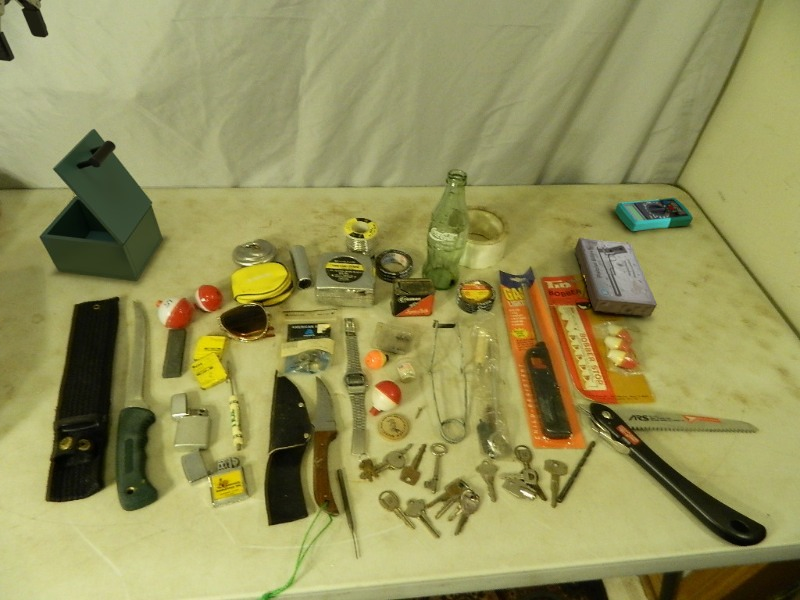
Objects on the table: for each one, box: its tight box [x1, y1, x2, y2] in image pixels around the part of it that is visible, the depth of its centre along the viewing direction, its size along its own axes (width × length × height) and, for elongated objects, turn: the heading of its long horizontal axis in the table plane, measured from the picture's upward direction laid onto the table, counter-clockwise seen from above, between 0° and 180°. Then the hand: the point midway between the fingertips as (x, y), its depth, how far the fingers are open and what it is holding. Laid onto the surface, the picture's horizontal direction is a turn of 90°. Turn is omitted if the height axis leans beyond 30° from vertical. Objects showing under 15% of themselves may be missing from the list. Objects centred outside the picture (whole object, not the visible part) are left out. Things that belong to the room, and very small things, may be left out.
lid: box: [52, 128, 153, 245], centre depth 82 cm, size 14×11×5 cm
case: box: [38, 195, 164, 282], centre depth 91 cm, size 14×11×8 cm
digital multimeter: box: [614, 197, 694, 232], centre depth 112 cm, size 7×15×3 cm, turn 104°
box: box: [574, 237, 658, 318], centre depth 97 cm, size 11×17×3 cm, turn 177°
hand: (24, 47), depth 76 cm, fingers open, 8 cm apart
